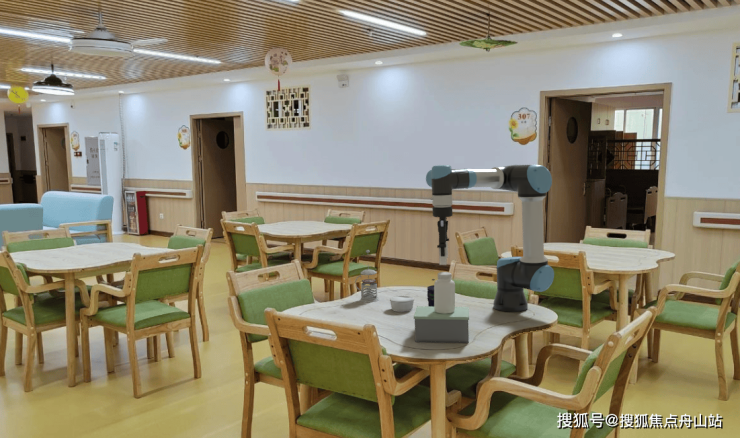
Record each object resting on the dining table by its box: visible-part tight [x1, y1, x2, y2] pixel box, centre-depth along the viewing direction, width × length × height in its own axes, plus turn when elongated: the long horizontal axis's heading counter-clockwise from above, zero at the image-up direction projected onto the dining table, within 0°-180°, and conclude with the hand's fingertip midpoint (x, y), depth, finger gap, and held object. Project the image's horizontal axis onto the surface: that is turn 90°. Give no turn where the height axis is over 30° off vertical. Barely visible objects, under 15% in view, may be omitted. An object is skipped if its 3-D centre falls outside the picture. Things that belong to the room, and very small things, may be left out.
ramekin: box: [389, 295, 415, 313], centre depth 269 cm, size 11×11×5 cm
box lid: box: [413, 305, 470, 321], centre depth 226 cm, size 21×15×1 cm
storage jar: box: [426, 278, 436, 307], centre depth 246 cm, size 10×10×18 cm
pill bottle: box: [433, 271, 456, 314], centre depth 225 cm, size 8×8×15 cm
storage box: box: [414, 319, 470, 344], centre depth 227 cm, size 20×14×9 cm
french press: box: [354, 249, 380, 303], centre depth 288 cm, size 10×12×25 cm
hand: (443, 261), depth 224 cm, fingers open, 13 cm apart
